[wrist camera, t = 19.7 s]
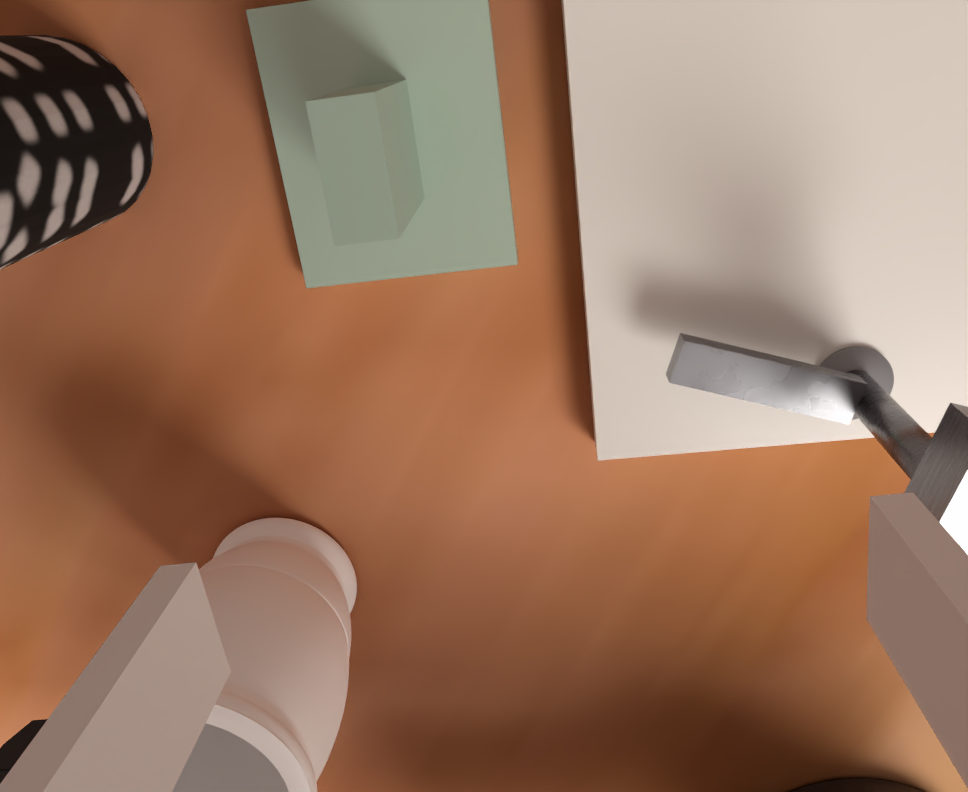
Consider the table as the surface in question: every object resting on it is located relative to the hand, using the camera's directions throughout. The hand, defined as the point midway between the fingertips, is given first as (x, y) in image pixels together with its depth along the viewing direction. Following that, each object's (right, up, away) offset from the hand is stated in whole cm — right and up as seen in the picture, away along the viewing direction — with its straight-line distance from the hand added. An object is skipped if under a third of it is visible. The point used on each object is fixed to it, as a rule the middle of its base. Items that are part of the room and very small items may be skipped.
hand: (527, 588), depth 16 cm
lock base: (+13, +13, +21) cm, 28 cm away
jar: (-12, -7, +31) cm, 34 cm away
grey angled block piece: (+13, +5, +22) cm, 26 cm away
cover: (-5, +15, +21) cm, 27 cm away
